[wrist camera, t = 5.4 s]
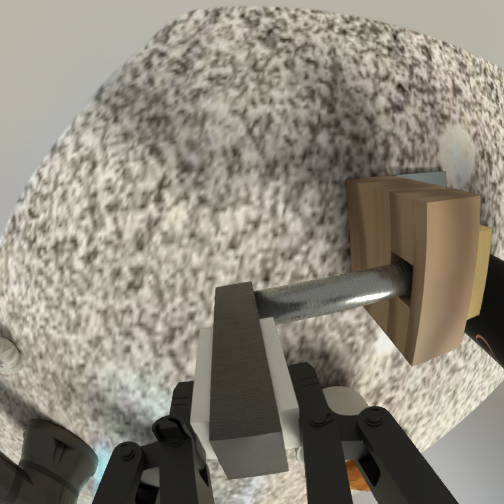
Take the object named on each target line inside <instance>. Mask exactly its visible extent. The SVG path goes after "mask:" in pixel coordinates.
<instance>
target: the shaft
mask: <svg viewBox="0 0 504 504" xmlns="http://www.w3.org/2000/svg"><path fill="white" fill-rule="evenodd" d="M412 280H413V265H411V264H410V263H408V262H407V261H401V262H396V263H392V264H387V265H383V266H378V267H374V268H369V269H365V270H360V271H355V272H350V273H346V274H341V275H336V276H331V277H326V278H321V279H316V280H311V281H306V282H301V283H296V284H291V285H285V286H280V287H275V288H269V289H264V290H258V291H253V286H252V281H250V282H244V283H239V284H233V285H227V286H221V287H216V290H215V306H214V323H213V341H212V362H211V386H210V417H209V442H210V444H211V447H212V449H213V451H214V453H215V455H216V457H217V459H218V461H219V463H220V465H221V466H222V468H223V470H224V472H225V474H226V476H227V478H228V479H237V478H246V477H254V476H262V475H268V474H275V473H280V472H286V471H289V469H288V463H287V457H286V451H285V445H284V438H283V432H282V427H281V423H280V418H279V413H278V408H277V403H276V399H275V394H274V389H273V384H272V379H271V374H270V370H269V365H268V360H267V355H266V350H265V345H264V340H263V336H262V331H261V326H260V321H259V319H264V318H269V317H273V318H274V322H275V325H277V324H283V323H288V322H293V321H298V320H302V319H307V318H312V317H317V316H321V315H326V314H330V313H335V312H339V311H343V310H347V309H352V308H356V307H360V306H364V305H368V304H372V303H376V302H380V301H383V300H387V299H391V298H395V297H398V296H402V295H406V294H409V293H412Z"/></svg>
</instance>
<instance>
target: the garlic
mask: <svg viewBox="0 0 504 504" xmlns="http://www.w3.org/2000/svg"><path fill="white" fill-rule="evenodd" d="M21 367H22V358H21V355H20V354H19V352H18V350H17V348H16V347H15V345H14V344H13V343H12V342H10V341H9V340H8V339H4V338H2V337H0V373H1V374H3V375H5V374H6V375H11V374H13V373H16V372H18V371H19V370H20V369H21Z"/></svg>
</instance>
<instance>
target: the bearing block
mask: <svg viewBox="0 0 504 504" xmlns="http://www.w3.org/2000/svg"><path fill="white" fill-rule="evenodd" d="M345 183H346V193H347V205H348V217H349V232H350V251H351V272H355V271H360V270H365V269H369V268H374V267H378V266H383V265H387V264H392V263H396V262H401V261H407V262H408V263H410V264H411V265H413V280H412V293H409V294H406V295H402V296H398V297H395V298H391V299H387V300H383V301H380V302H376V303H372V304H368V305H364V306H363V307H364V308H365V309H366V311H367V312H368V313H369V314H370V315H371V317H372V318H373V319H374V320H375V321H376V323H377V324H378V325H379V326H380V327H381V329H382V330H383V331H384V332H385V334H386V335H387V336H388V337H389V339H390V340H391V341H392V342H393V343H394V345H395V346H396V347H397V348H398V350H399V351H400V352H401V354H402V355H403V356H404V357H405V359H406V360H407V361H408V362H409V364H410V365H411V366H415V365H418V364H420V363H423V362H425V361H428V360H430V359H433V358H435V357H438V356H440V355H442V354H445V353H447V352H449V351H452V350H454V349H456V348H458V347H460V346H461V342H462V338H463V334H464V330H465V326H466V321H467V317H468V312H469V307H470V302H471V296H472V290H473V284H474V277H475V270H476V262H477V253H478V242H479V228H480V203H481V196H480V195H476V194H472V193H468V192H464V191H460V190H456V189H452V188H448V187H444V186H439V185H435V184H431V183H426V182H421V181H416V180H411V179H406V178H401V177H396V176H391V175H387V176H377V177H367V178H358V179H349V180H345Z"/></svg>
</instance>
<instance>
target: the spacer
mask: <svg viewBox="0 0 504 504" xmlns="http://www.w3.org/2000/svg"><path fill="white" fill-rule="evenodd" d="M491 234H492V229H491V228H489V227H486V226H484V225H481V224H480V228H479V242H478V253H477V262H476V270H475V277H474V284H473V290H472V296H471V302H470V307H469V312H468V317H467V320H468V319H470V318H472V317H475V316H477V315H479V313H480V309H481V304H482V299H483V294H484V289H485V283H486V277H487V270H488V263H489V255H490V245H491Z"/></svg>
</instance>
